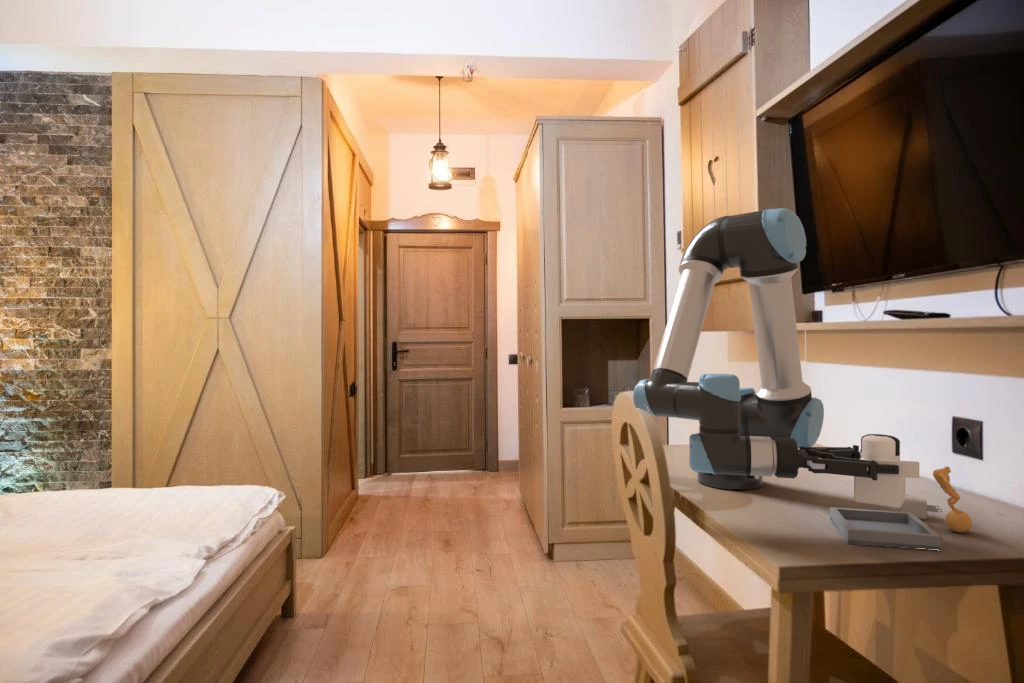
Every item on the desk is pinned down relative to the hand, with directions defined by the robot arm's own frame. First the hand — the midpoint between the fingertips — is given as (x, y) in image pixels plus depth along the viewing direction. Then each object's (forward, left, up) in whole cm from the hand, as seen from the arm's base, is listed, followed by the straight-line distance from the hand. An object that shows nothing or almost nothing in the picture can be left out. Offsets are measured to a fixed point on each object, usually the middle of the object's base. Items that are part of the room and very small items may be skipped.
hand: (908, 464), depth 108 cm
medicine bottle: (0, -5, -7) cm, 8 cm away
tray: (0, -4, -13) cm, 14 cm away
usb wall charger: (-14, +6, -13) cm, 20 cm away
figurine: (-5, +9, -13) cm, 17 cm away
